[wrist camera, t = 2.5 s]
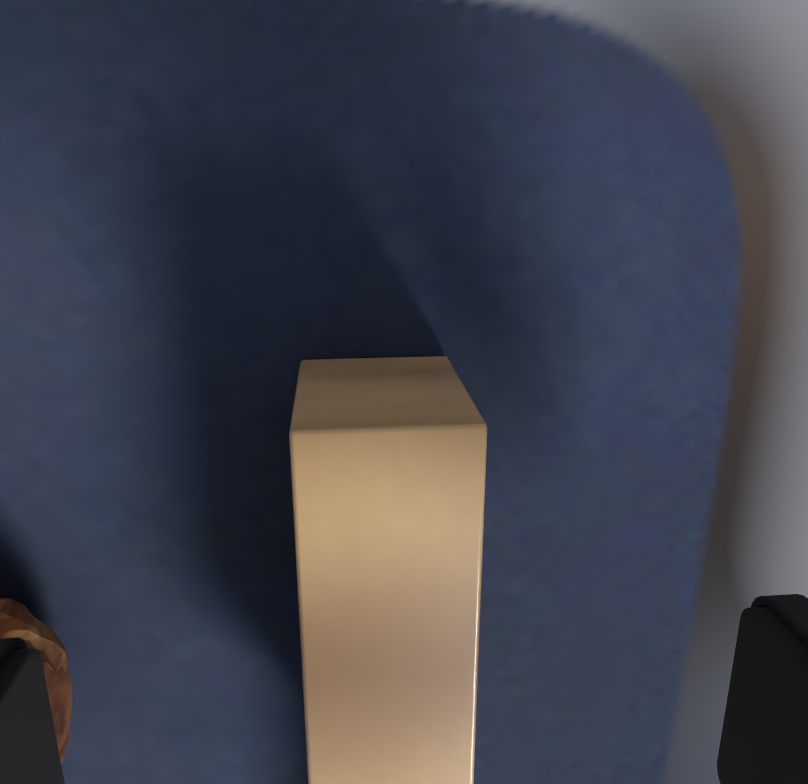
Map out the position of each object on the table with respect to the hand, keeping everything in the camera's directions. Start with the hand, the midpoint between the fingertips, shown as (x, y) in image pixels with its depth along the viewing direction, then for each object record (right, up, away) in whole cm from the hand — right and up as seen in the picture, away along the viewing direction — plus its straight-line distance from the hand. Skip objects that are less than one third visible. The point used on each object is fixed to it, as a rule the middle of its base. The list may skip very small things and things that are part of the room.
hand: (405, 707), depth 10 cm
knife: (0, -2, +4) cm, 5 cm away
